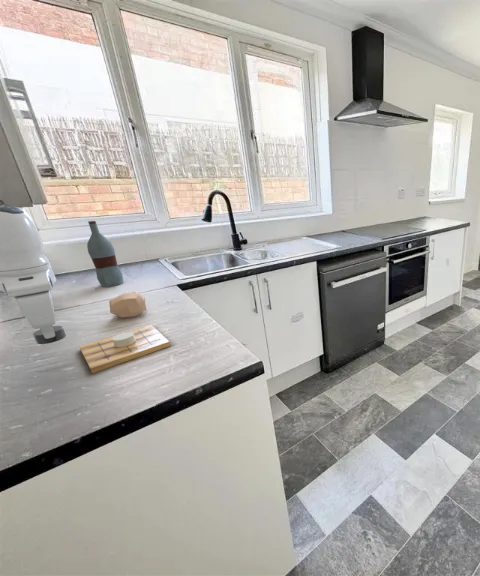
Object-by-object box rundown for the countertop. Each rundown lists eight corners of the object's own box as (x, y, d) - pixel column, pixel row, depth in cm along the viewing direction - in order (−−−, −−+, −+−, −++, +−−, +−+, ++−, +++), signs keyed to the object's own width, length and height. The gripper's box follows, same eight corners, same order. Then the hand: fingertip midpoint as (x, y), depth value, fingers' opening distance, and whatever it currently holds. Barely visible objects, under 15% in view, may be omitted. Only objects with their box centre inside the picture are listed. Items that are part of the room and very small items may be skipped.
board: (80, 350, 91) (78, 345, 91) (152, 328, 104) (151, 324, 104) (92, 373, 80) (90, 368, 80) (170, 345, 93) (169, 341, 93)
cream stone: (109, 347, 90) (107, 340, 89) (124, 339, 94) (121, 332, 94) (126, 347, 90) (124, 340, 89) (139, 339, 94) (137, 332, 93)
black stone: (30, 344, 73) (26, 335, 72) (52, 334, 77) (49, 325, 77) (50, 344, 72) (46, 335, 72) (71, 334, 77) (68, 325, 76)
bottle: (111, 280, 153) (91, 219, 143) (129, 280, 153) (110, 219, 143) (94, 287, 145) (71, 222, 134) (113, 287, 144) (91, 222, 134)
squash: (113, 325, 107) (99, 302, 104) (119, 313, 123) (108, 293, 120) (149, 313, 112) (137, 290, 109) (151, 302, 128) (140, 283, 125)
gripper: (4, 272, 74) (27, 324, 78) (5, 292, 61) (32, 352, 66) (42, 267, 78) (61, 316, 83) (51, 284, 66) (73, 341, 70)
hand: (49, 332), depth 74 cm, fingers closed on black stone, 5 cm apart
